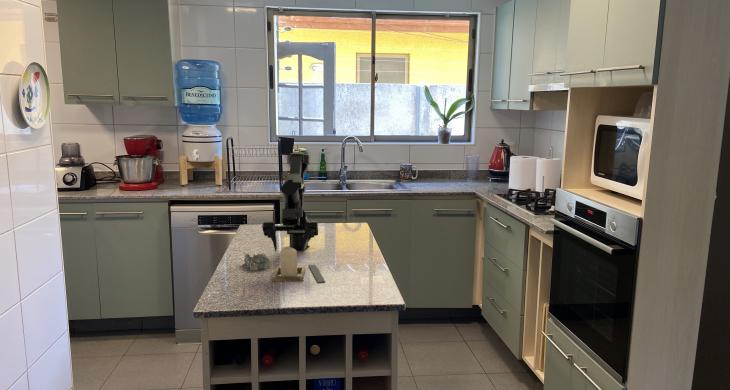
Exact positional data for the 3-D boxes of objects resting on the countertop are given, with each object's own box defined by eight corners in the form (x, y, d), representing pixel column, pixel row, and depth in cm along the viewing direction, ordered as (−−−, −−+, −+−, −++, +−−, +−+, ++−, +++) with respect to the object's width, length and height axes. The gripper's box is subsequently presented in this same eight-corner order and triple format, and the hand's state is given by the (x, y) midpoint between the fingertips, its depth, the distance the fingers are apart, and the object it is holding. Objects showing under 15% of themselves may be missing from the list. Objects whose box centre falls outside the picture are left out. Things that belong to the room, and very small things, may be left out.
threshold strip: (325, 282, 166) (325, 281, 166) (317, 283, 165) (317, 281, 165) (315, 265, 183) (315, 264, 183) (308, 266, 182) (308, 265, 182)
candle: (300, 276, 172) (300, 247, 170) (287, 280, 168) (286, 250, 166) (290, 272, 176) (290, 244, 174) (277, 276, 172) (276, 247, 170)
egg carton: (242, 263, 186) (242, 252, 186) (263, 260, 190) (262, 249, 189) (250, 271, 177) (249, 260, 176) (271, 268, 180) (271, 257, 180)
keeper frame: (276, 271, 176) (276, 267, 176) (305, 271, 177) (305, 267, 177) (272, 281, 167) (272, 277, 166) (303, 281, 167) (303, 276, 167)
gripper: (262, 198, 174) (258, 239, 166) (317, 198, 175) (316, 238, 166) (266, 215, 183) (262, 255, 175) (318, 215, 184) (317, 254, 176)
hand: (289, 250), depth 173 cm, fingers open, 9 cm apart
